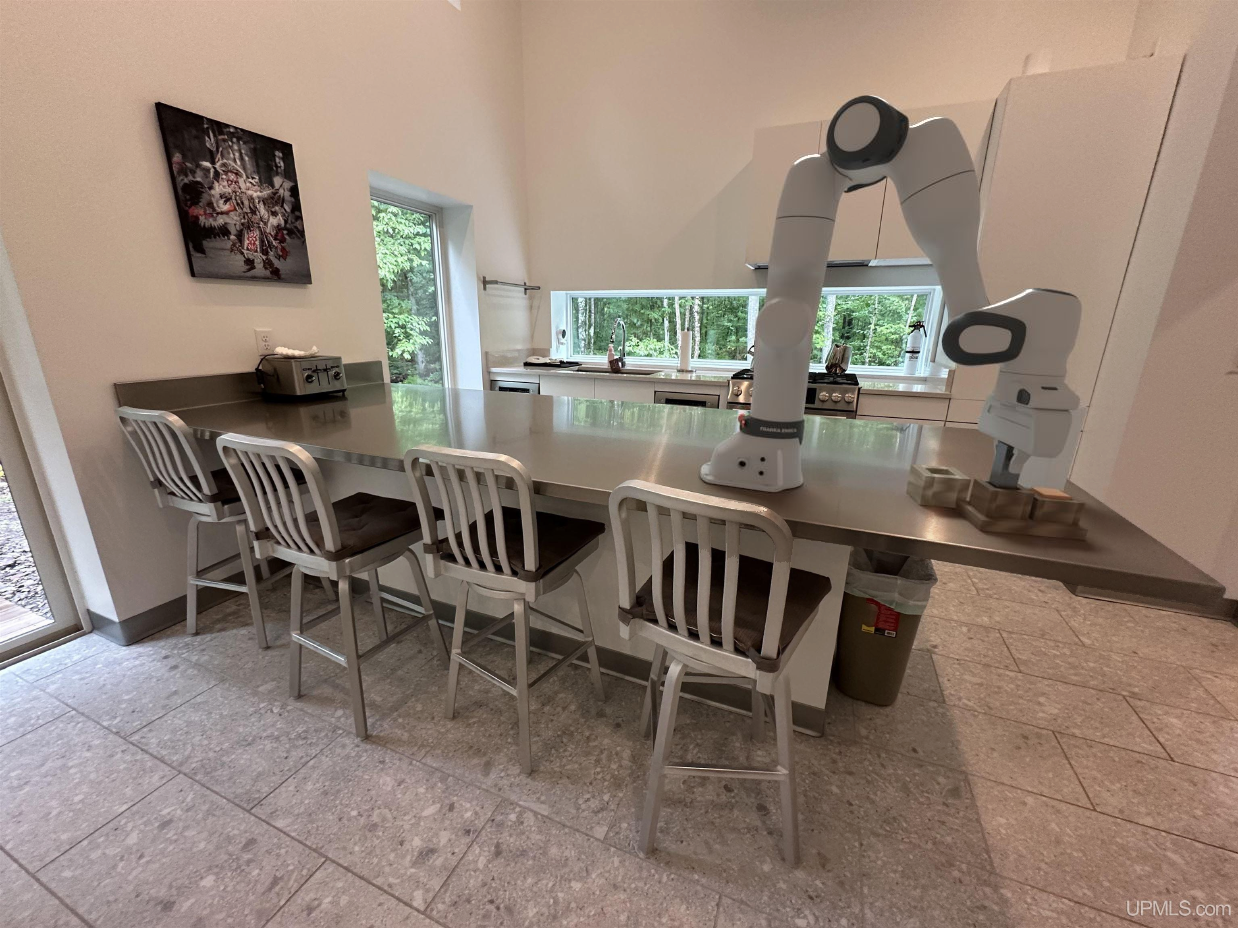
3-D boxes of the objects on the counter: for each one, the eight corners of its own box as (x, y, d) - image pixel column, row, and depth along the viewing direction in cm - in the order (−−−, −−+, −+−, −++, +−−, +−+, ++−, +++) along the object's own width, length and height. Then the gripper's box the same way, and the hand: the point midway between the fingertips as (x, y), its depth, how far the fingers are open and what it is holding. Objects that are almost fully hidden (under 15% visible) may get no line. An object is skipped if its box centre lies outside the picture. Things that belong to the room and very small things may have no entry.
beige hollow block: (919, 504, 99) (925, 475, 97) (906, 491, 107) (911, 464, 105) (964, 508, 98) (971, 479, 96) (947, 494, 105) (953, 467, 103)
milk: (1012, 488, 110) (1037, 387, 104) (1033, 486, 111) (1059, 387, 105) (1041, 498, 104) (1069, 392, 98) (1063, 496, 106) (1092, 391, 99)
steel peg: (990, 510, 90) (1007, 446, 86) (982, 504, 93) (998, 441, 89) (1009, 512, 89) (1027, 447, 86) (1001, 506, 92) (1017, 443, 88)
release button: (1038, 515, 88) (1044, 494, 87) (1025, 507, 92) (1031, 487, 90) (1064, 518, 87) (1071, 496, 86) (1050, 509, 91) (1056, 488, 90)
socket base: (979, 530, 88) (988, 492, 86) (955, 509, 97) (963, 475, 95) (1085, 540, 85) (1097, 501, 83) (1049, 517, 94) (1059, 482, 92)
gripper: (977, 381, 95) (961, 451, 99) (1040, 398, 76) (1016, 485, 80) (1015, 383, 94) (997, 454, 98) (1088, 401, 75) (1062, 488, 79)
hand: (1006, 468), depth 89 cm, fingers closed on steel peg, 3 cm apart
